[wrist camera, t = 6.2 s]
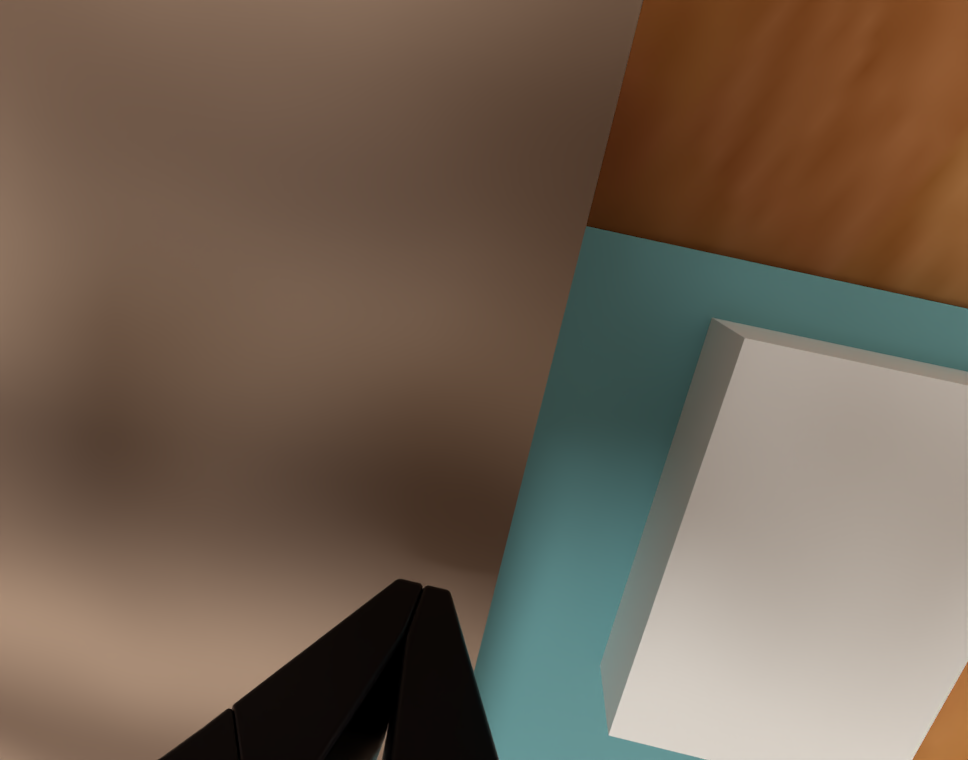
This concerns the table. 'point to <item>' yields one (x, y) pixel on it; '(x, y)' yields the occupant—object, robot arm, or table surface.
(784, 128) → the table surface
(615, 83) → the brown flat block
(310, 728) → the robot arm
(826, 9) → the table surface
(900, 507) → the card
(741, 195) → the table surface
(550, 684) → the mat
